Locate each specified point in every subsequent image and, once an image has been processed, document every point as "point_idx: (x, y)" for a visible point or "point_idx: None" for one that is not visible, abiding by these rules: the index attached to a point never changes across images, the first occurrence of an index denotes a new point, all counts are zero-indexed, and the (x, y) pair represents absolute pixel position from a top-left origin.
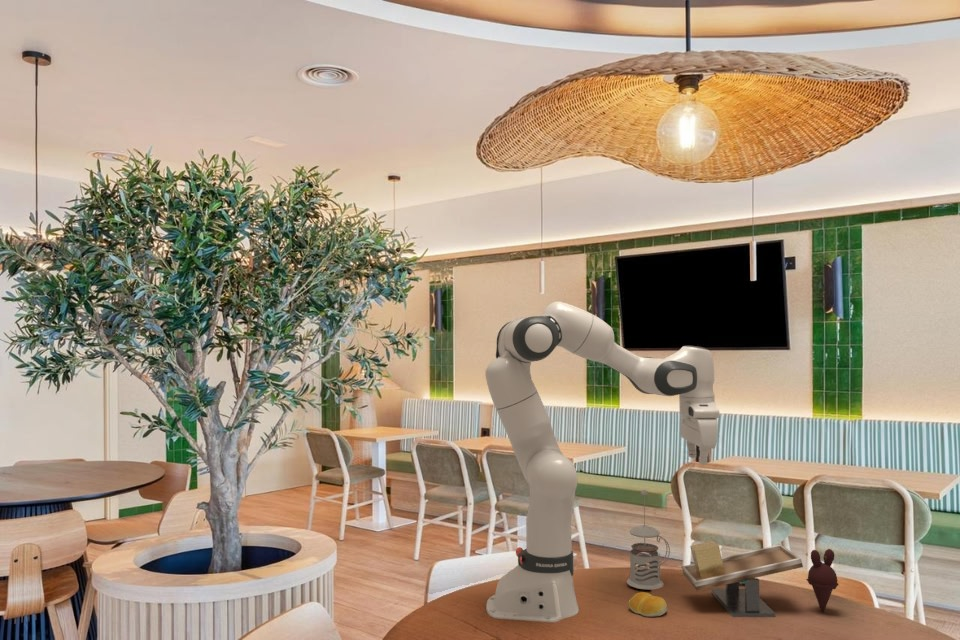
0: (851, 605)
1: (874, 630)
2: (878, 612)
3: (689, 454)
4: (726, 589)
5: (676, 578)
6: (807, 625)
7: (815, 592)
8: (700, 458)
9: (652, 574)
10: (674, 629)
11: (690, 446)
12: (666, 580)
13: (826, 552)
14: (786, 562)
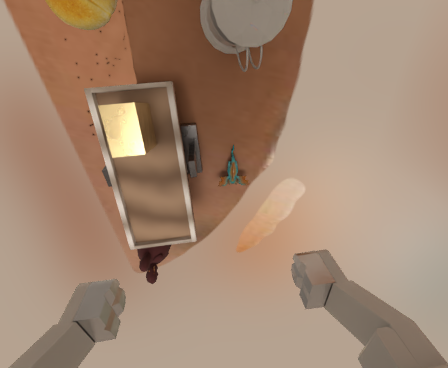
0: (182, 244)
1: (123, 245)
2: (168, 257)
3: (307, 264)
4: (192, 143)
5: (254, 82)
6: (116, 201)
7: None
8: (62, 316)
9: (210, 25)
10: (26, 30)
11: (359, 317)
12: (245, 62)
13: (149, 277)
14: (125, 232)
